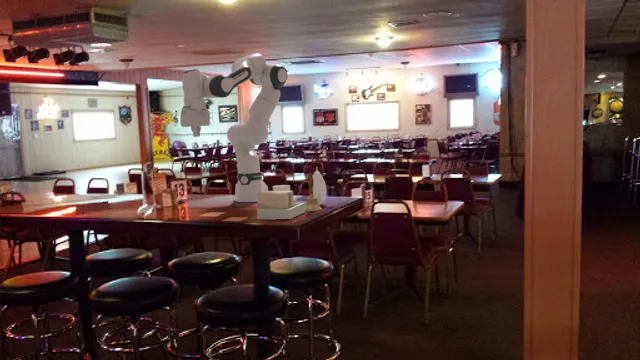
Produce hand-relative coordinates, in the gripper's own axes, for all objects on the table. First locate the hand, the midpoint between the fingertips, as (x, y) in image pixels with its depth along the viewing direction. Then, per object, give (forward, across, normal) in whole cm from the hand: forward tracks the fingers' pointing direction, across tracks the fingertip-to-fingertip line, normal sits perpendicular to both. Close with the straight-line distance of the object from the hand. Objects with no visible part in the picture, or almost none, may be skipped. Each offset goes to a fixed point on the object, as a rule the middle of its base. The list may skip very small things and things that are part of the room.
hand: (196, 136), depth 249 cm
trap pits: (+34, -16, -19) cm, 42 cm away
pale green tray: (+34, -12, -43) cm, 56 cm away
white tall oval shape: (+35, +20, -50) cm, 64 cm away
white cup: (+34, +10, -36) cm, 50 cm away
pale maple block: (+34, -12, -41) cm, 54 cm away
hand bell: (+35, +4, -52) cm, 62 cm away
